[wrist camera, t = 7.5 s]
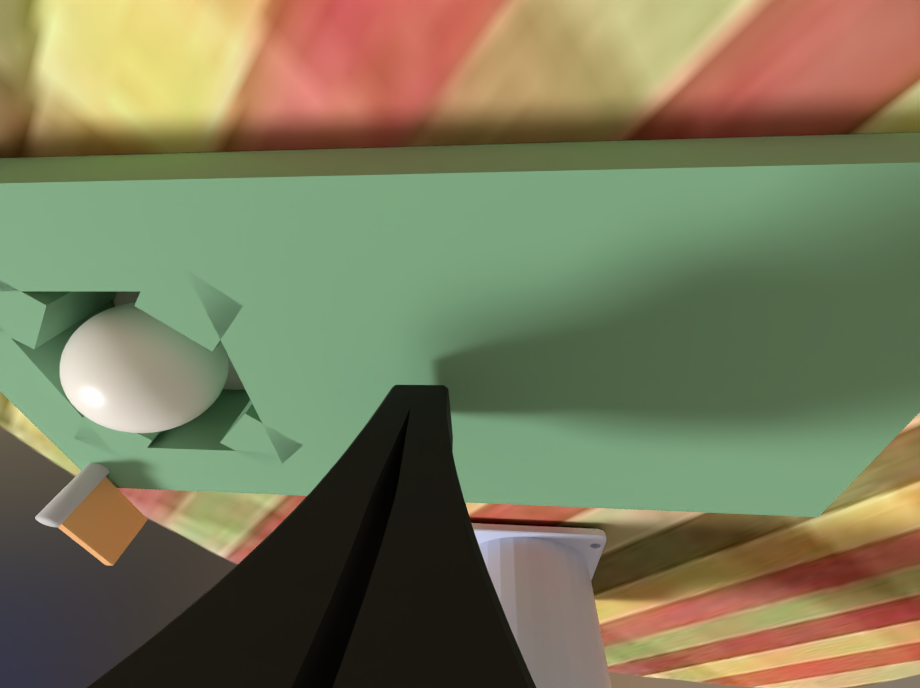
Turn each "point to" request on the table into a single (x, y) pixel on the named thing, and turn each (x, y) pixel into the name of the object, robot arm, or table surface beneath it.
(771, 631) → the table surface
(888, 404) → the green board with hole
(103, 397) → the ball
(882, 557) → the table surface
